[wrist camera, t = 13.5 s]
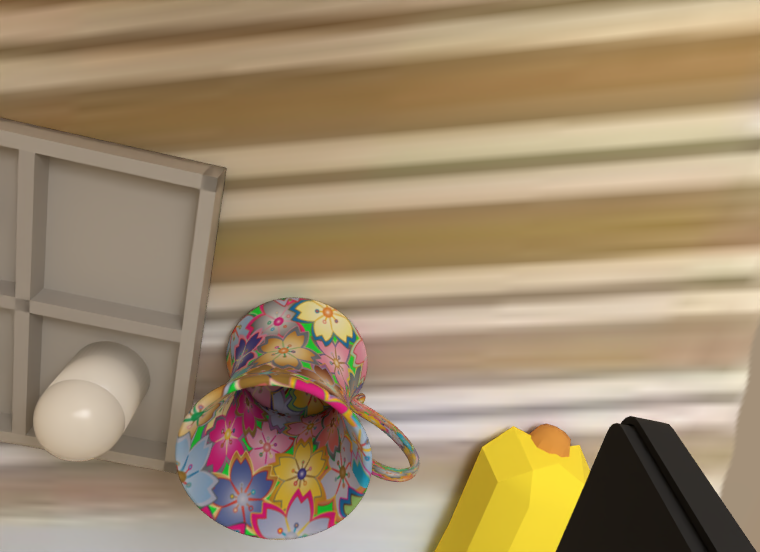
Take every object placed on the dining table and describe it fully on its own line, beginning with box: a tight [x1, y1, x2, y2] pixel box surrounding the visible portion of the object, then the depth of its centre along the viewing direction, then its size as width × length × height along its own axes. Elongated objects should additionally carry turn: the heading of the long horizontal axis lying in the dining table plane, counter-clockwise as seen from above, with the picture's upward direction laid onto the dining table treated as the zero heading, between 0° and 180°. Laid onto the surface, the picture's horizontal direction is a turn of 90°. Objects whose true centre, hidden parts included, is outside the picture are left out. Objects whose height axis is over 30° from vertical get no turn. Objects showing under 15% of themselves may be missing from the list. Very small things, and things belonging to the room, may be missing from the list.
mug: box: [175, 298, 419, 540], centre depth 37 cm, size 12×9×11 cm
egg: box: [33, 341, 150, 462], centre depth 38 cm, size 5×5×7 cm
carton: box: [0, 118, 227, 473], centre depth 39 cm, size 19×19×2 cm
